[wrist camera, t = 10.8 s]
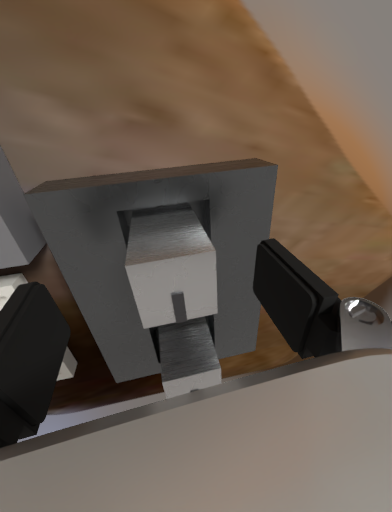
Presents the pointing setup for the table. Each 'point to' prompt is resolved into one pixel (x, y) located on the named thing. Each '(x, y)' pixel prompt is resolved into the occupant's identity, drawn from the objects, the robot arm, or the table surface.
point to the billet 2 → (187, 357)
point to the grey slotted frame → (116, 242)
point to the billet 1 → (171, 266)
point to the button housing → (16, 221)
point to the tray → (3, 289)
